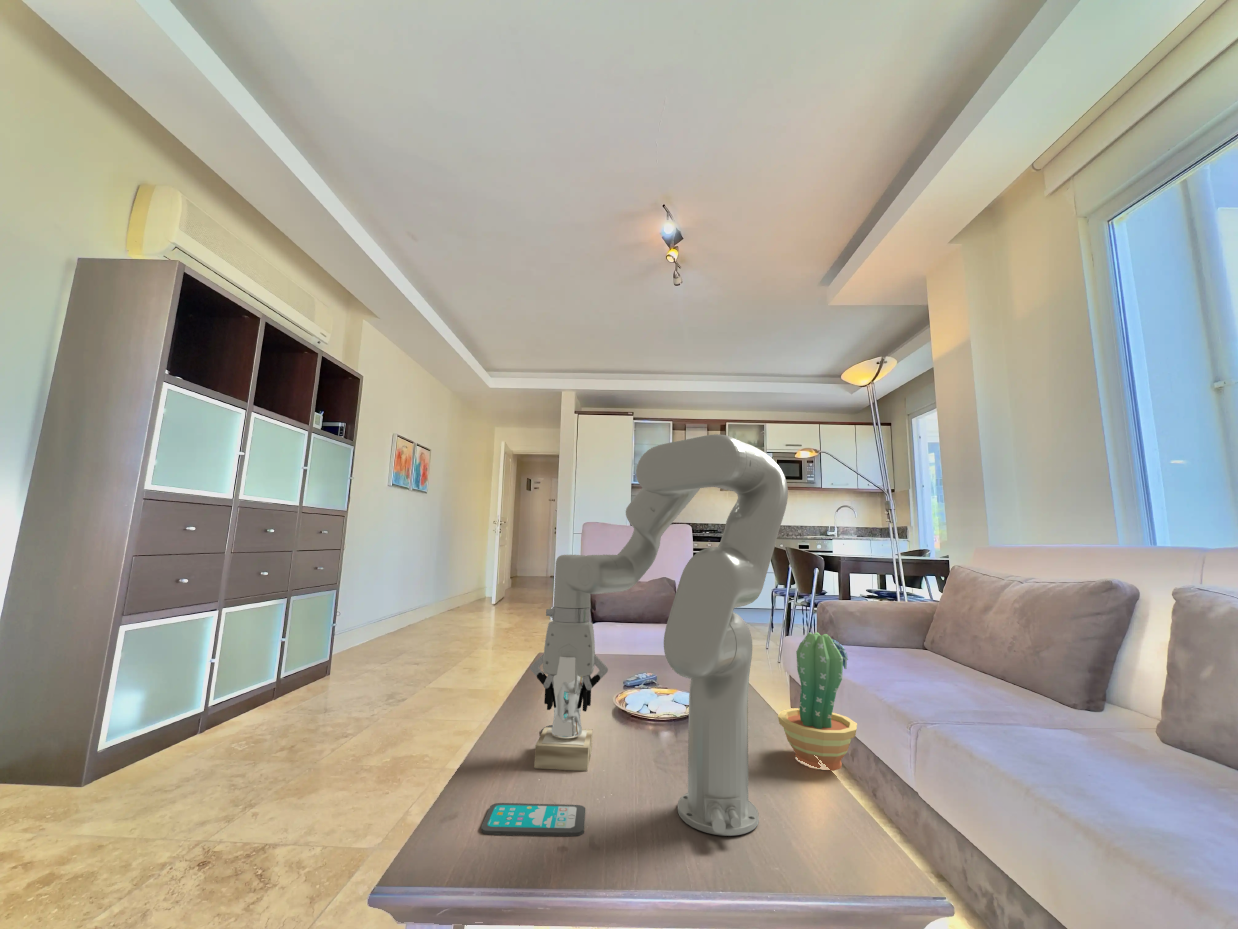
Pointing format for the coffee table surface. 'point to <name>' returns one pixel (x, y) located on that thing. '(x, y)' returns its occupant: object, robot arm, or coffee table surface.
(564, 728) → the beer glass
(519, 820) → the smartphone
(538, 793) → the coffee table surface
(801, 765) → the coffee table surface
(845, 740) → the potted cactus
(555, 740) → the oak plinth
